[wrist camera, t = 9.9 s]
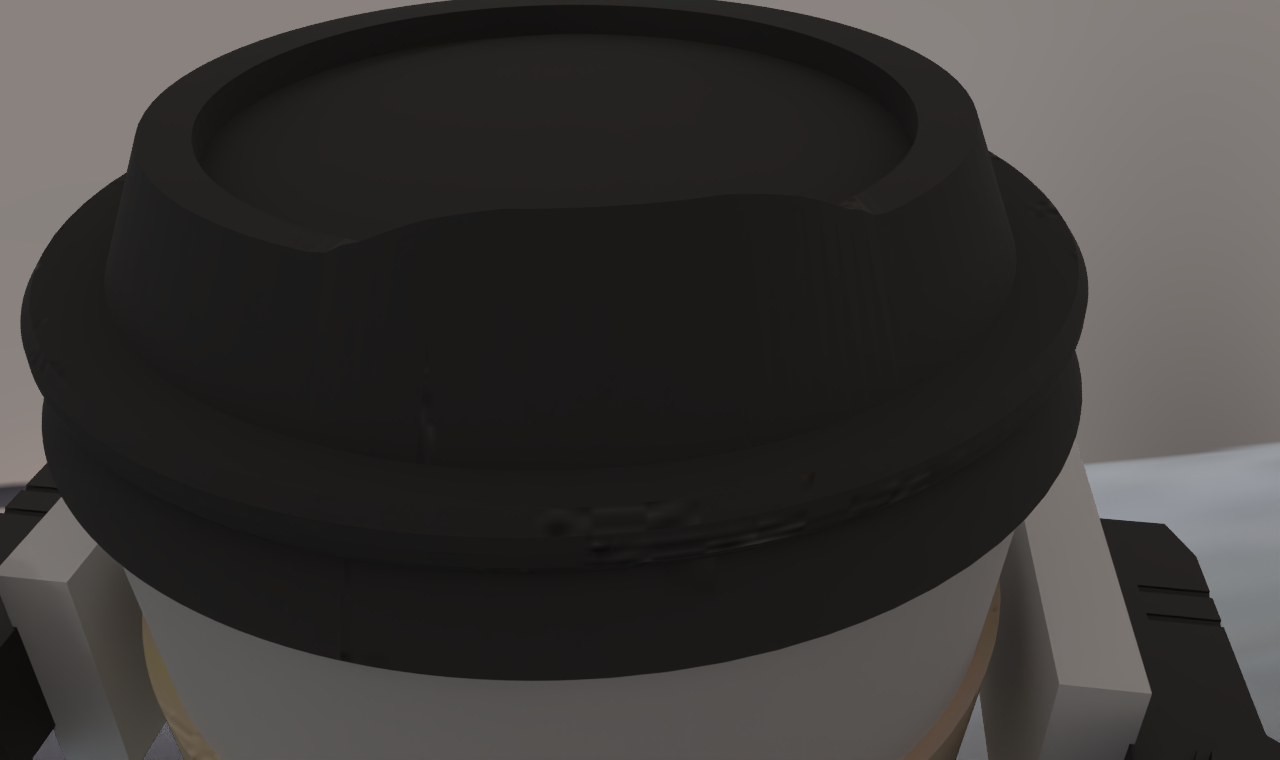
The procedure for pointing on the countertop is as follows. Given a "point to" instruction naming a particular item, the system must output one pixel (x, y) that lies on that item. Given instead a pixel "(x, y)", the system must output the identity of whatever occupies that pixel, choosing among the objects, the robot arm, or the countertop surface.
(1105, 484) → the countertop surface
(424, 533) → the coffee cup
